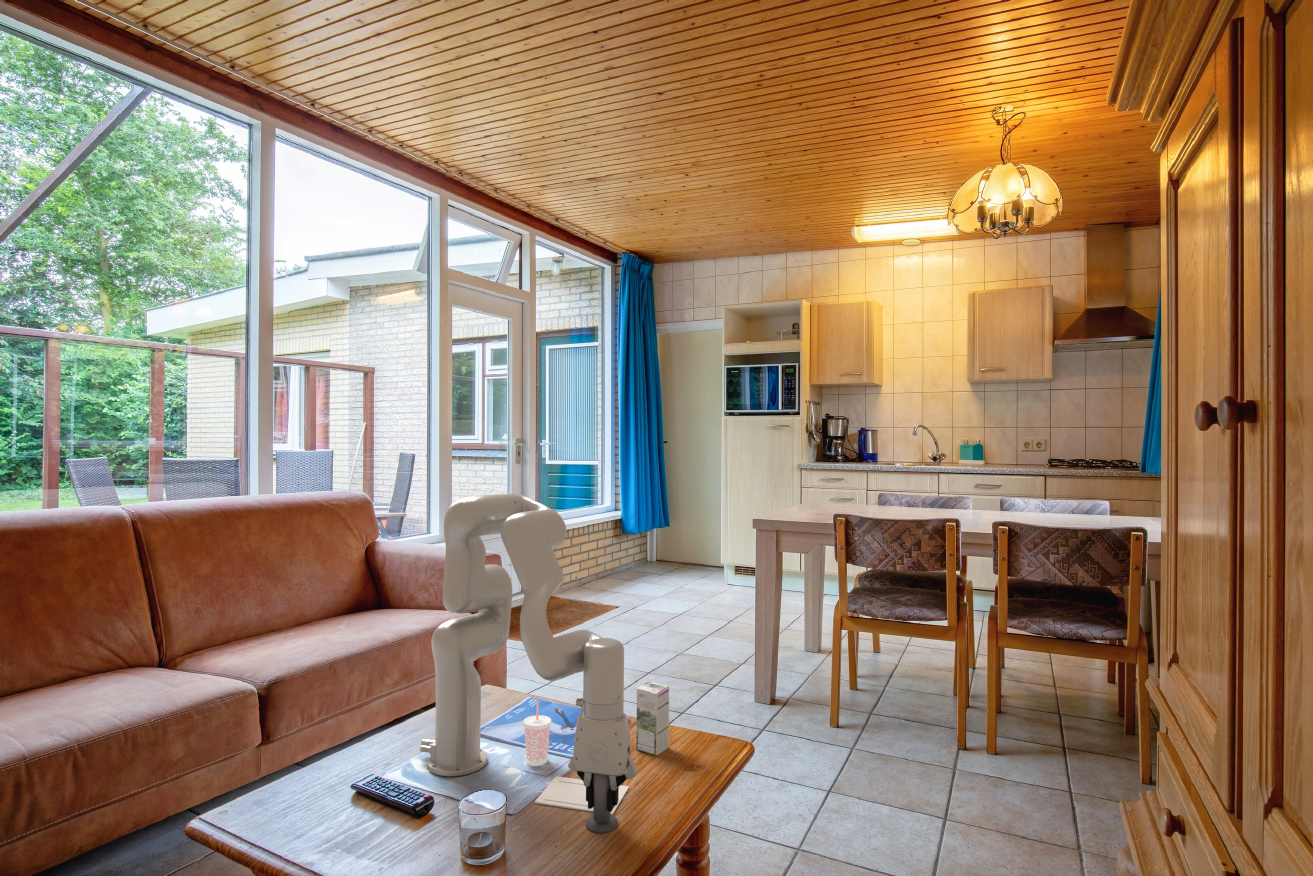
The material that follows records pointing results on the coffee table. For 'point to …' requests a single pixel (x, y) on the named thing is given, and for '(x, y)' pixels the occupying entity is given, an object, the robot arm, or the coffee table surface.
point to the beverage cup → (537, 738)
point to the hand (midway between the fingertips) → (602, 805)
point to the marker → (600, 798)
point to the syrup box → (652, 718)
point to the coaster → (601, 825)
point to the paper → (570, 794)
